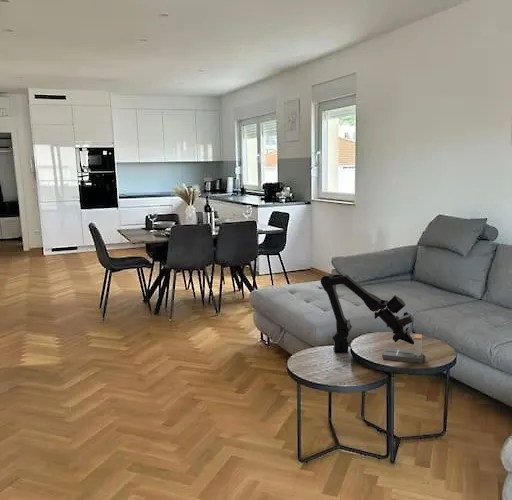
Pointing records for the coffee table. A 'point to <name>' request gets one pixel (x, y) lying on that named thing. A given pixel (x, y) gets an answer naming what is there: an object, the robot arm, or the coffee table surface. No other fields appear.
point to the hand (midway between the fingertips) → (413, 343)
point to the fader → (417, 344)
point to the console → (402, 355)
